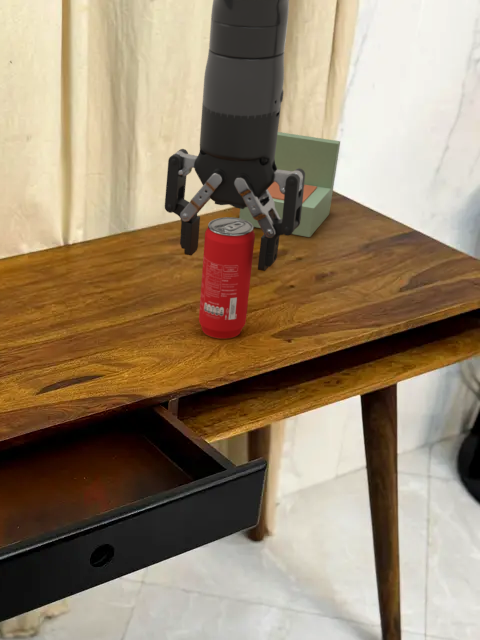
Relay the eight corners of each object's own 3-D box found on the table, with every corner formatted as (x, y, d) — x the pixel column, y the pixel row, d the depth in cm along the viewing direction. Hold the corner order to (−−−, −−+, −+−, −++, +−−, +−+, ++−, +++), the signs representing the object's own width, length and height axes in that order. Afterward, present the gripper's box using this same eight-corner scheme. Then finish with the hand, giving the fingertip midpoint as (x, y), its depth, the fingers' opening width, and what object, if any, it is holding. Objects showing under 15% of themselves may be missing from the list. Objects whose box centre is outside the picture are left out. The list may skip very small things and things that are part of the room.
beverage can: (188, 327, 110) (195, 224, 103) (221, 314, 113) (230, 212, 105) (221, 345, 107) (230, 239, 100) (254, 331, 110) (266, 227, 102)
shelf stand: (329, 214, 136) (340, 141, 130) (309, 237, 130) (320, 161, 124) (260, 202, 140) (268, 130, 134) (238, 224, 134) (245, 149, 128)
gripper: (158, 100, 95) (151, 260, 105) (301, 121, 90) (279, 287, 100) (188, 81, 100) (179, 235, 110) (325, 100, 95) (302, 260, 105)
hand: (227, 260), depth 105 cm, fingers open, 8 cm apart
